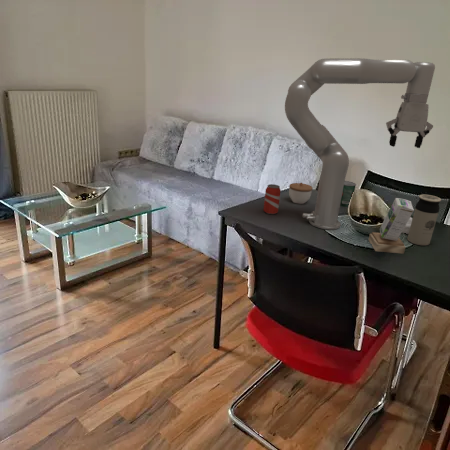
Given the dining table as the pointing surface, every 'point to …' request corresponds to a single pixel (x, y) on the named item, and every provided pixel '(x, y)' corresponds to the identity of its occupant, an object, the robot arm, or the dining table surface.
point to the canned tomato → (347, 193)
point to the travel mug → (424, 220)
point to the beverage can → (272, 199)
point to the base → (386, 244)
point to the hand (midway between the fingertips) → (404, 146)
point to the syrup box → (396, 219)
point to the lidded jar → (300, 192)
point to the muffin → (407, 226)
